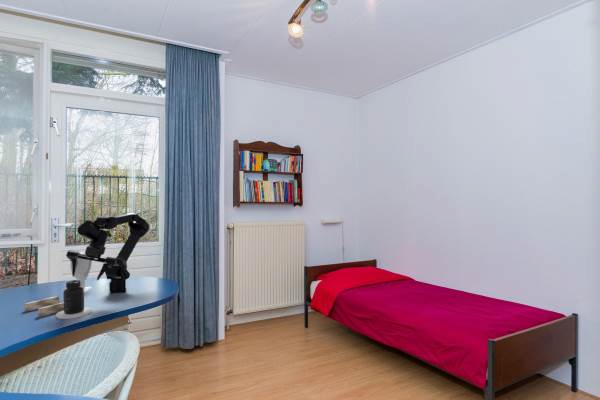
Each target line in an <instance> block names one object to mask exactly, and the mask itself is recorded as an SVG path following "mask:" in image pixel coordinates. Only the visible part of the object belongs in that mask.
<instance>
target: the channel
mask: <svg viewBox="0 0 600 400" xmlns="http://www.w3.org/2000/svg"><path fill="white" fill-rule="evenodd" d="M35 310H37V316H38V317H40V318H41V317H45V316H48V315H51V314H55V313H56V314H57V313H58V312H60V311H63V310H64V301H63V302H60V296H59V295H56V296H51V297H47V298H43V299H39V300H34V301H30V302H26V303H24V312H30V311H35Z"/></svg>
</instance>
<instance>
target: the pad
mask: <svg viewBox="0 0 600 400" xmlns="http://www.w3.org/2000/svg"><path fill="white" fill-rule="evenodd" d="M92 312H93V308H92V307H89V306H84V310H83V311H82V312H80V313H77V314H65V313H64V310H63V311H60V312H56V314H55V318H57V319H59V320H70V319H77V318H82V317H85V316H87V315H90V314H91V313H92Z"/></svg>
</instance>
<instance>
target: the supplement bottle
mask: <svg viewBox="0 0 600 400" xmlns="http://www.w3.org/2000/svg"><path fill="white" fill-rule="evenodd" d="M80 286H81V283H80V280H77V279H75V280H69V281H66V282H65V289H64V290H63V292H62V294H63V295H62V297H63V299H62V301H63V302H64V313H65V314H77V313H80V312H82V311H83V310H84V307H85V293H84V289H83V288H82V287H80Z"/></svg>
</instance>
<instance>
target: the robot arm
mask: <svg viewBox="0 0 600 400" xmlns="http://www.w3.org/2000/svg"><path fill="white" fill-rule="evenodd" d="M123 224H127V226H128V227H129V235H128V237H127V239H126V241H125V243H124V244H123V246H122V247H121V249H120V251H119V252H118V253H117V256H116V257H111V256H107V257H106V258H103V257H102V255H104V254H105V252H106V242H107V240H108V238H111V237H112V233H111V231H110V230H114V229H115V228H117V227H118V226H119V225H123ZM149 230H150V224H149V223H148V221H146V219H144V218H143V217H140V215H139V214H138V213H136V212H135V213H134V212H130V213H127V214H121V215H120V214H119V215H115V216H97V217H96V219H94V221H92V220H89V219H87V220H86V219H85V221H84V222H83V223H81V224H80V225H79V226H78V228H77V234H78V235H80V236H81V237H83V238H86V239H87V240H90V242H89V245H87V246H86V248H85V250H84V252H85V254H86V255H83V254H80V250H79V251H78V250H73V249H69V250H68V251H67V252H66V255H65V257H66V259H68V260H69V261H70V262H71V261H72V272H71V274H72V275H71V276H72V277H74V275H75V272H76V268H77V265H78V260H77V259H79V258H80V259H85V260H91V261H92V262H97V263H103V264H102V267H101V269H100V271H99V273H98V275H97V278H96V281H99V280H100V278H101V277H102V276H103V275H104V274H105V277H106V280H110V281H109V284H108V285H109V287H108V288H109V290H108V291H109V293H110V294H112V295H113V294H123V293H127V283H126V281H127V280H128V279H130V276H131V273H130V271H129V270H128V263H127V262H128V260H129V258H130V257H131V254H132V253H133V252H134V249H135V248H136V246H137V244H138V242H139V241H140V240H141V238H143V237H144V236H145V235H147V233H148V232H149ZM74 278H75V277H74Z"/></svg>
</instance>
